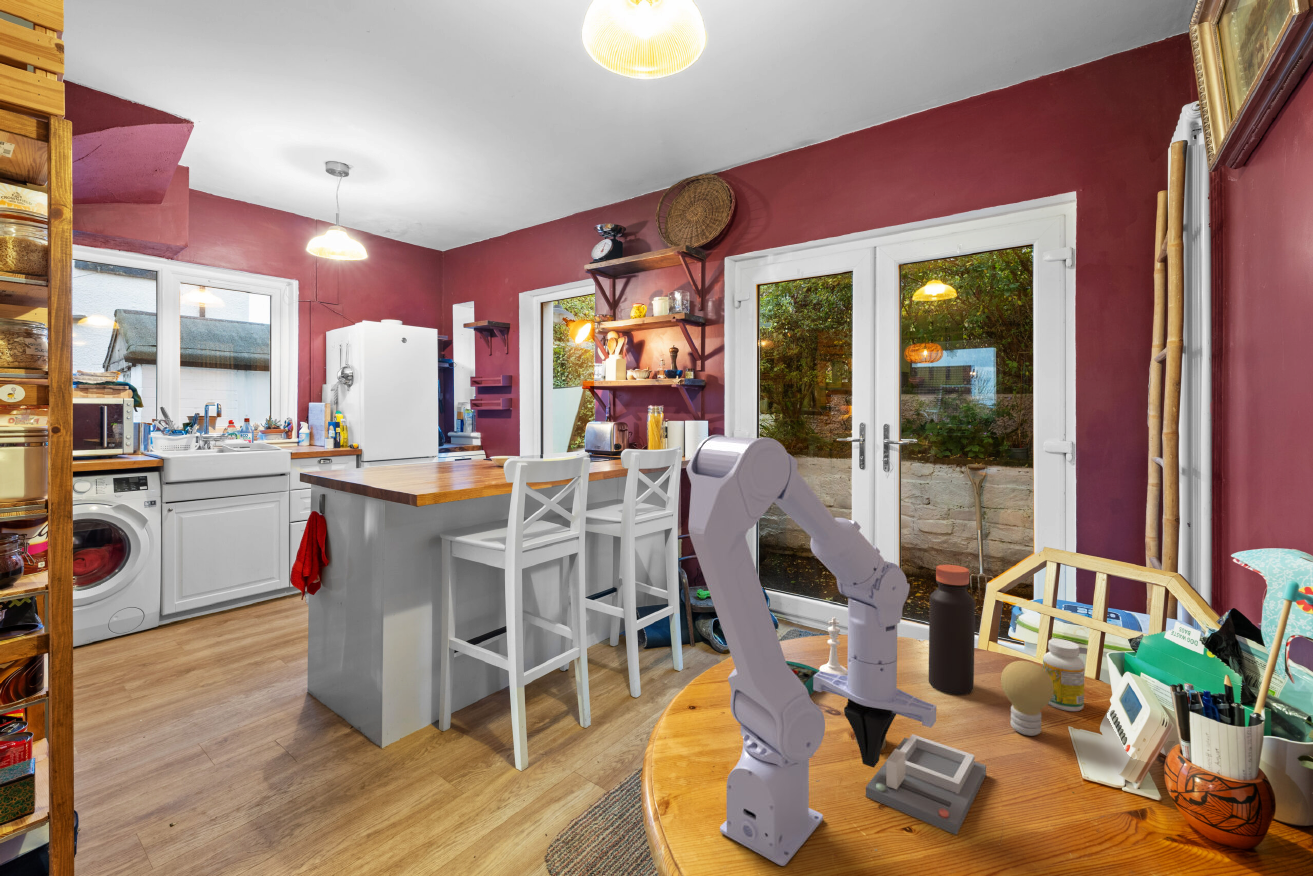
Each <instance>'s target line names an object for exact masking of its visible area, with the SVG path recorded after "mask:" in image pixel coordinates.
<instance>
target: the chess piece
mask: <svg viewBox="0 0 1313 876" xmlns="http://www.w3.org/2000/svg"><path fill="white" fill-rule="evenodd" d="M828 625H831V626H829V627H828V628H827V631H828V635H829V639H828V640H827V642H826V643H827V644H828V645H829V646H830V651H829V657H828V662H827V663H824V664H821V666H820V667H819V669H818V670H820V671H823V672H827V673H832V674H838V675H845V676H847V675H848V668H846V667H845V666H843V665H841V664H840V663H839V658H838V647H837V646H839V645H840V644H841V641H840V640H838V636H839V635H840V631H841V630H840V629H841V628H839V627H837V626H836V625H840V621H839V620H837V619H836V616H835V617H831V620H828Z"/></svg>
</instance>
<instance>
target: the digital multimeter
mask: <svg viewBox="0 0 1313 876" xmlns="http://www.w3.org/2000/svg"><path fill="white" fill-rule="evenodd" d="M785 661H786V664H787V665H788V666H789V668H790V669H791V670H792V671H793V672H794V674H795V675H796V676H797V677H798V678H799V680H800V681H801V682H802V683H803V684H804V686H805V687H806V688H807V690H808V693H809V696H811V695H812V694H813V693H814V692H815V690H813V685H814V675H815V674H817V673H818V672H819V671H820V669H818V668H816V667H814V666H810V665H809V664H808V665H807V664H805V663H802V662H797V661H796V662H795V661H791V660H790V661H789V660H785Z"/></svg>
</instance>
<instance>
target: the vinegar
mask: <svg viewBox="0 0 1313 876" xmlns="http://www.w3.org/2000/svg"><path fill="white" fill-rule="evenodd" d="M935 567H936V569H935V570H936V571H935V572H936V573H935V580H936V584H937V585H938V586H937V588H936V589H935V590H933V592H931V593H930V595H929V614H928V615H929V619H928V621H929V623H928V624H929V625H928V626H929V627H928V636H929V637H928V684H929V685H930V686H931V687H932V688H934V689H935V690H937V691H940V692H941V693H945V694H948V695H953V696H954V695H957V696H963V695H964V696H965V695H969V694H970V693H972V692H973V691H974V686H975V683H974V681H975V680H974V679H975V639H976V638H975V636H976V635H975V631H976V630H975V629H976V627H975V626H976V625H975V624H976V601H975V598H974V597H973V596H972V595H971V594H970V593H969V592H968V590H967V589H968V587H969V585H970V569H969V568H967V567H964V566H961V565H956V564H939V565H937V566H935Z"/></svg>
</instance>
